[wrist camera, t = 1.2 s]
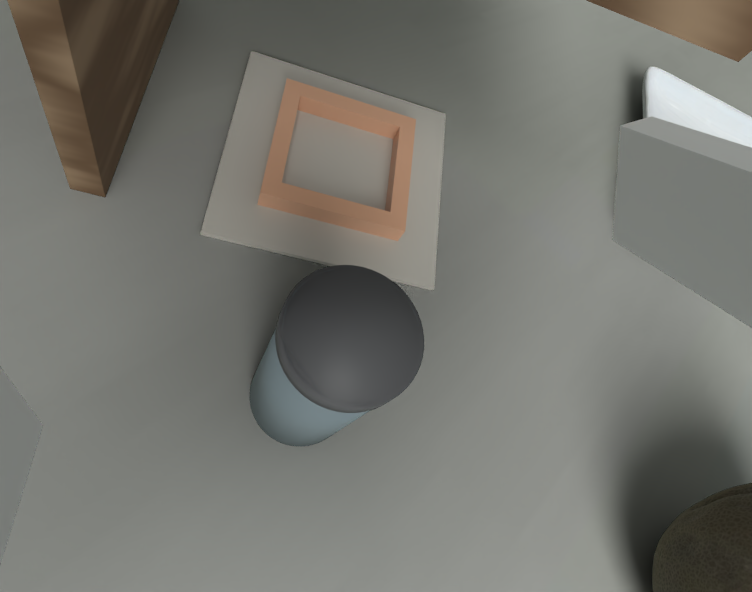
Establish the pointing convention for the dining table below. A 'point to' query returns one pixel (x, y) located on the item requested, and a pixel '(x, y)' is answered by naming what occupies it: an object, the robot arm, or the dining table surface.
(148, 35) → the shelf
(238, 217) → the seat collar
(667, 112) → the salad plate
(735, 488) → the cantaloupe
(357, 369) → the canister
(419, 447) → the dining table surface
